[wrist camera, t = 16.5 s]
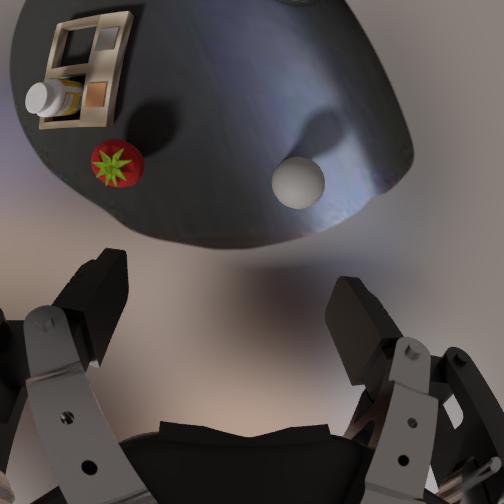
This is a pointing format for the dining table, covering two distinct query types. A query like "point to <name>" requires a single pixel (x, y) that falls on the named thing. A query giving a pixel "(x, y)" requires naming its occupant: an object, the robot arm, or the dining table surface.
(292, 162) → the lightbulb
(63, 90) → the supplement bottle
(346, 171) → the dining table surface
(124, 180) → the strawberry
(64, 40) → the socket plate
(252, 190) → the dining table surface
